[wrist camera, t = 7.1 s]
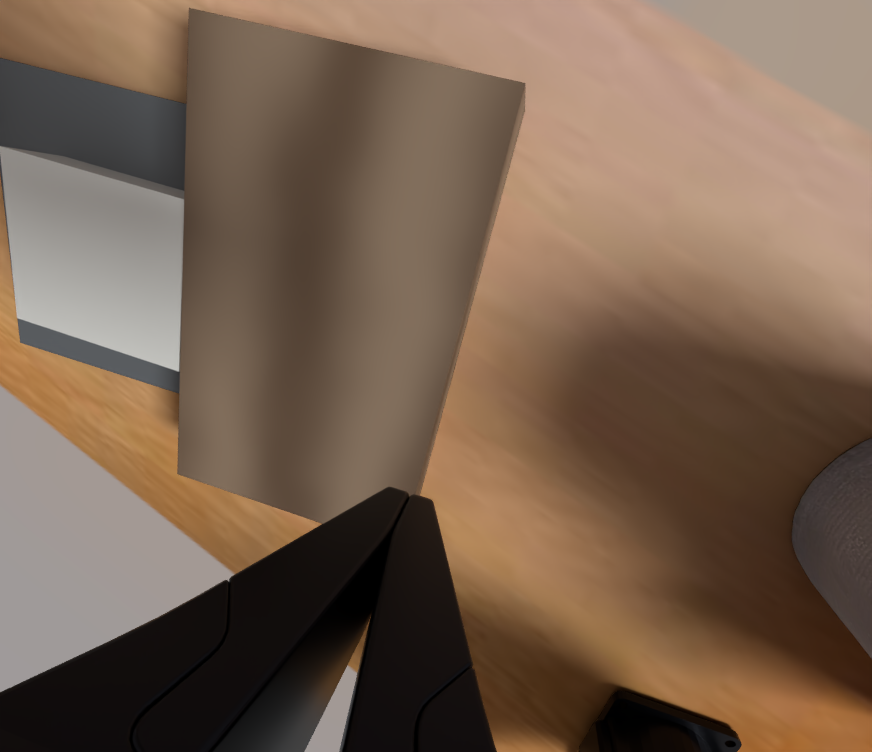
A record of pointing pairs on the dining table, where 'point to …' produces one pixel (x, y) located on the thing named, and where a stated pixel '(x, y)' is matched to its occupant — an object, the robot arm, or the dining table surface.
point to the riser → (328, 258)
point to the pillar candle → (840, 538)
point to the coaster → (96, 253)
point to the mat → (98, 145)
